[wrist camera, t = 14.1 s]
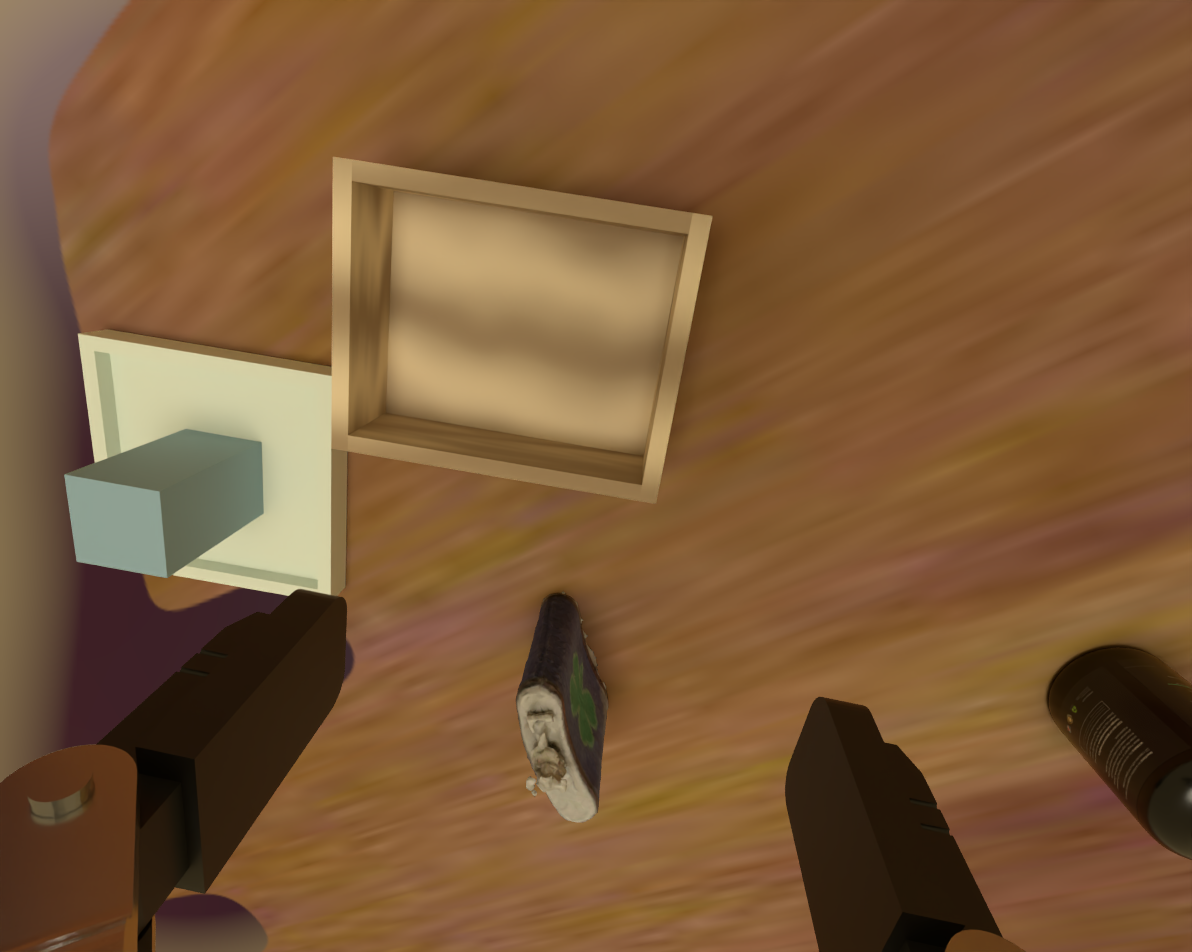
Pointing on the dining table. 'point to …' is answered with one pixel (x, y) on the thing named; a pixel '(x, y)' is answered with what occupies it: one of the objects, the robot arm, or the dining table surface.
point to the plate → (243, 410)
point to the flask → (563, 711)
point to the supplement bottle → (1133, 735)
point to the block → (165, 501)
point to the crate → (509, 327)
